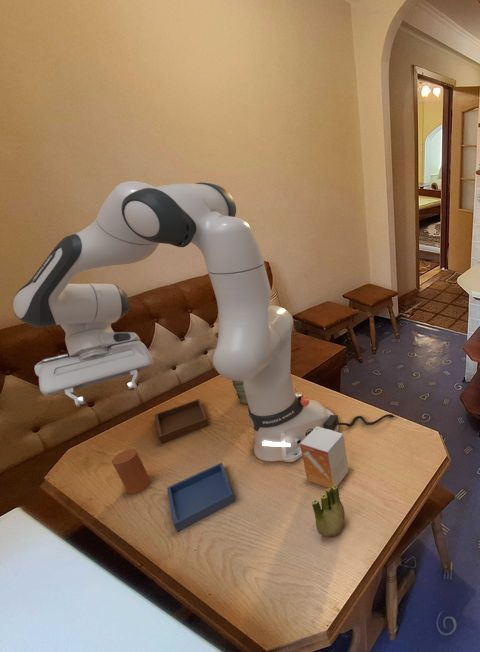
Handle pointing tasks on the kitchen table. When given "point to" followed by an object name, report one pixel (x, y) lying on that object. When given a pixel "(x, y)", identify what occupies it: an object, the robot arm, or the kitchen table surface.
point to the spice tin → (131, 471)
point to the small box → (324, 457)
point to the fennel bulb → (329, 513)
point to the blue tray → (199, 496)
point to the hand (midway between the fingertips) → (108, 396)
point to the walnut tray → (180, 420)
